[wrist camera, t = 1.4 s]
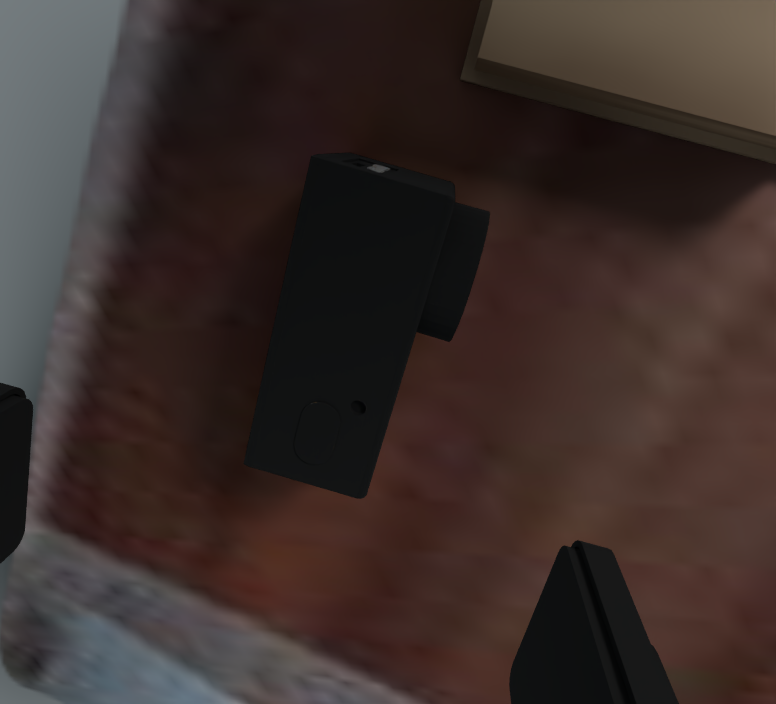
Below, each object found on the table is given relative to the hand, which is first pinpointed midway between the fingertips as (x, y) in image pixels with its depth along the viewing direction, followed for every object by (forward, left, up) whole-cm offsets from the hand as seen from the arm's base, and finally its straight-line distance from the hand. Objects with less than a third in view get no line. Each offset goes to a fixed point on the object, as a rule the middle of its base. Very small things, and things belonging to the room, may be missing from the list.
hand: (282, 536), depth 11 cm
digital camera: (0, 0, -16) cm, 16 cm away
